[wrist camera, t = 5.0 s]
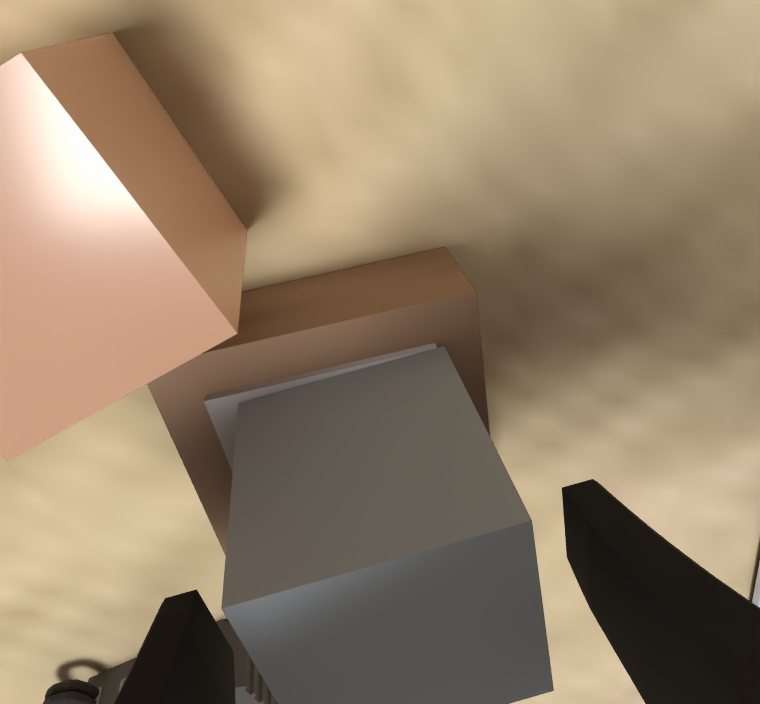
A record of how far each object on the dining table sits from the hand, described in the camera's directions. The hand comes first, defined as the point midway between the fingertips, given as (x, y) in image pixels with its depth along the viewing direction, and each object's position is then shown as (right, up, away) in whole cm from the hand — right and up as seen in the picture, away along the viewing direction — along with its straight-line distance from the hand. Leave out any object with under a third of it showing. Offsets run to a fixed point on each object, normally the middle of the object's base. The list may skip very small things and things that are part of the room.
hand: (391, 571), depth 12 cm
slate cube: (-1, +2, +2) cm, 3 cm away
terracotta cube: (-6, +8, +1) cm, 10 cm away
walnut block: (-2, +3, +5) cm, 6 cm away
